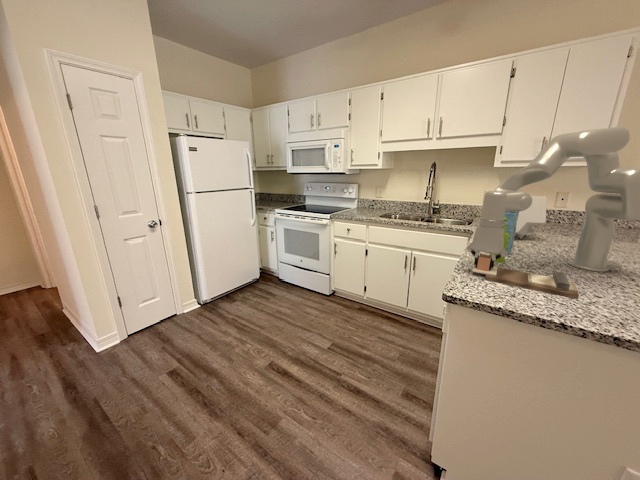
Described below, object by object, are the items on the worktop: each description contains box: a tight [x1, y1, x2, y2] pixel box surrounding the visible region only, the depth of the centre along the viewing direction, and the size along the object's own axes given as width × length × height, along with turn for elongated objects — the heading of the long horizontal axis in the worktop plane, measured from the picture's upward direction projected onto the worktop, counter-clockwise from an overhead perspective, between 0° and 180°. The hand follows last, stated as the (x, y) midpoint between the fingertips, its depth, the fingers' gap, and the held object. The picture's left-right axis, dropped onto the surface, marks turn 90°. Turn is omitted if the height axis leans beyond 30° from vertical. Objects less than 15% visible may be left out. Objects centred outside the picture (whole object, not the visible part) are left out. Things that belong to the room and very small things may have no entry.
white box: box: [514, 195, 548, 240], centre depth 160 cm, size 20×16×25 cm
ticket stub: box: [471, 253, 498, 276], centre depth 105 cm, size 8×10×6 cm
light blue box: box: [504, 210, 519, 256], centre depth 135 cm, size 20×5×23 cm, turn 140°
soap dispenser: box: [489, 217, 509, 263], centre depth 120 cm, size 6×7×20 cm
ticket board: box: [485, 266, 580, 300], centre depth 98 cm, size 26×14×4 cm, turn 54°
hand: (483, 267), depth 106 cm, fingers closed on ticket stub, 4 cm apart
